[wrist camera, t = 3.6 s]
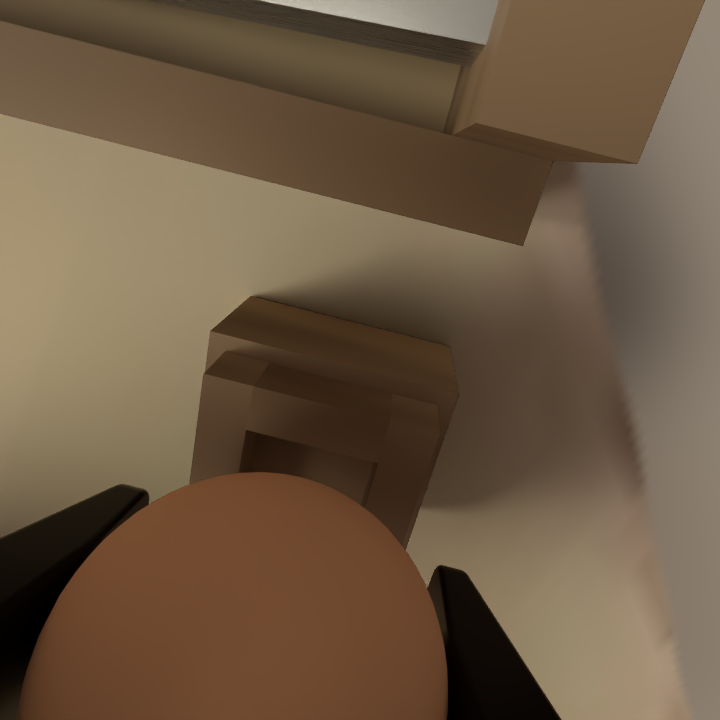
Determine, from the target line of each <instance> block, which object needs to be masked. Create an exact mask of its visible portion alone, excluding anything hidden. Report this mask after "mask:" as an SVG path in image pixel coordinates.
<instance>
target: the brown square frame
mask: <svg viewBox="0 0 720 720" xmlns="http://www.w3.org/2000/svg"><path fill="white" fill-rule="evenodd" d="M458 396H459V391H458V386H457V381H456V376H455V371H454V366H453V361H452V356H451V351H450V346H446V345H442V344H438V343H434V342H430V341H426V340H422V339H418V338H414V337H410V336H406V335H402V334H398V333H394V332H390V331H387V330H383V329H379V328H375V327H371V326H367V325H363V324H359V323H355V322H351V321H347V320H343V319H339V318H335V317H331V316H327V315H323V314H320V313H316V312H312V311H308V310H304V309H300V308H296V307H292V306H288V305H284V304H280V303H276V302H272V301H268V300H264V299H260V298H256V297H253V296H250V297H249V298H248V299H247V300H246V301H244V302H243V303H242V304H241V305H240V306H239V307H238V308H236V309H235V310H234V311H233V312H232V313H231V314H229V315H228V316H227V317H226V318H225V319H224V320H223V321H221V322H220V323H219V324H218V325H217V326H216V327H215V328H213V329H212V330H211V331H210V338H209V346H208V353H207V361H206V369H205V373H204V374H203V382H202V390H201V398H200V406H199V413H198V421H197V429H196V437H195V445H194V452H193V460H192V468H191V476H190V484H193V483H196V482H200V481H203V480H206V479H210V478H214V477H217V476H221V475H228V474H235V473H251V472H268V473H280V474H287V475H292V476H298V477H302V478H306V479H309V480H312V481H315V482H318V483H321V484H323V485H326V486H328V487H330V488H332V489H335V490H337V491H339V492H340V493H342V494H344V495H346V496H347V497H349V498H351V499H352V500H354V501H355V502H357V503H358V504H360V505H361V506H362V507H364V508H365V509H366V510H368V511H369V512H370V513H372V514H373V515H374V516H375V517H376V518H377V519H378V520H380V521H381V522H382V523H383V524H384V525H385V526H386V527H387V528H388V529H389V531H390V532H391V533H392V534H393V535H394V537H395V538H396V539H397V540H398V542H399V543H400V544H401V545H402V547H403V548H404V549H405V550H406V547H407V544H408V541H409V538H410V535H411V533H412V530H413V527H414V524H415V521H416V518H417V515H418V512H419V509H420V506H421V503H422V501H423V498H424V495H425V492H426V489H427V486H428V483H429V480H430V477H431V474H432V471H433V469H434V466H435V463H436V460H437V457H438V454H439V451H440V448H441V445H442V442H443V439H444V437H445V434H446V431H447V428H448V425H449V422H450V419H451V416H452V413H453V410H454V407H455V404H456V402H457V399H458ZM190 484H189V485H190Z"/></svg>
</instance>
